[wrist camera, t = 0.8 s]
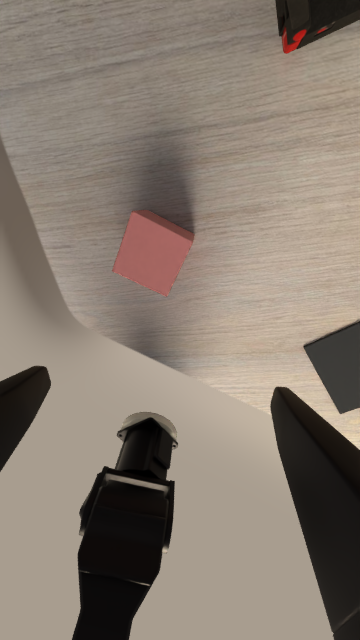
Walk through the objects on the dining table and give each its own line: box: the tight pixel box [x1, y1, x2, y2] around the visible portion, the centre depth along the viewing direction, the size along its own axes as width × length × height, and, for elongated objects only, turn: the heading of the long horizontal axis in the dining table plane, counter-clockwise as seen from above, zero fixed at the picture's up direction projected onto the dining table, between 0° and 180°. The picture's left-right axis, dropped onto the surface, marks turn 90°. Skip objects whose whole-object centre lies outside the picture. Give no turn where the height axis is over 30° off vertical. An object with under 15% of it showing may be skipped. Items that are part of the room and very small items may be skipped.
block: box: [112, 210, 195, 297], centre depth 20 cm, size 5×5×5 cm
